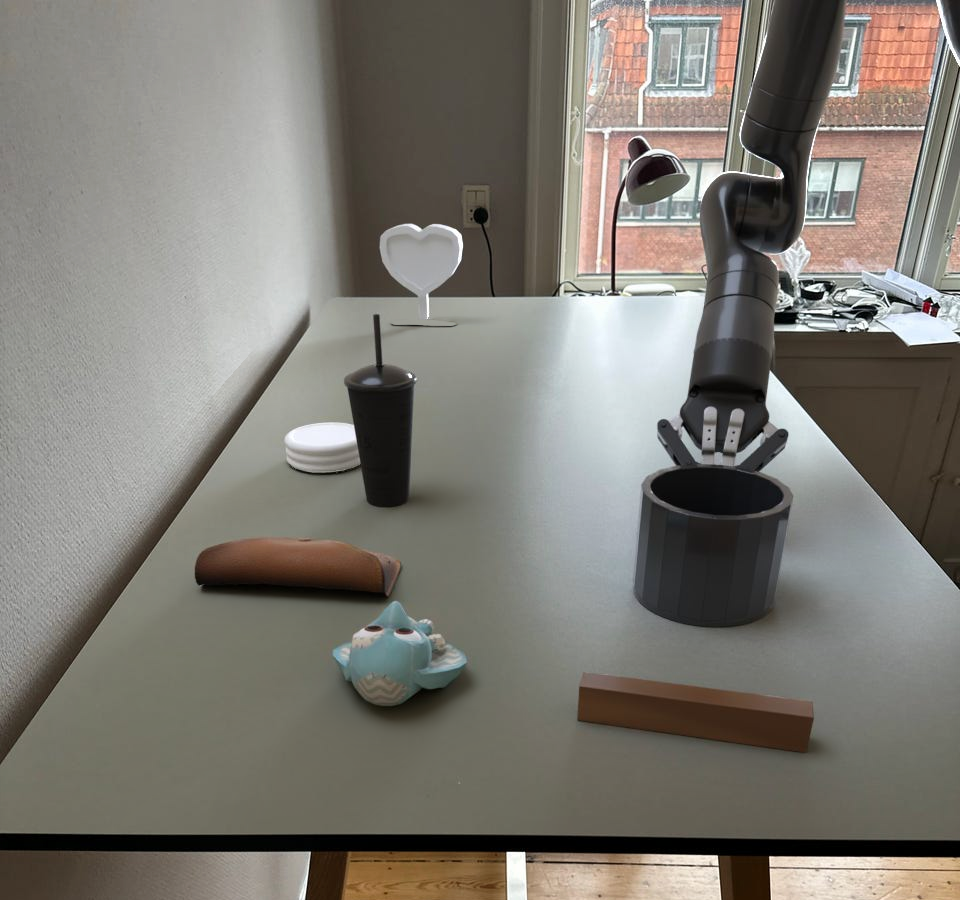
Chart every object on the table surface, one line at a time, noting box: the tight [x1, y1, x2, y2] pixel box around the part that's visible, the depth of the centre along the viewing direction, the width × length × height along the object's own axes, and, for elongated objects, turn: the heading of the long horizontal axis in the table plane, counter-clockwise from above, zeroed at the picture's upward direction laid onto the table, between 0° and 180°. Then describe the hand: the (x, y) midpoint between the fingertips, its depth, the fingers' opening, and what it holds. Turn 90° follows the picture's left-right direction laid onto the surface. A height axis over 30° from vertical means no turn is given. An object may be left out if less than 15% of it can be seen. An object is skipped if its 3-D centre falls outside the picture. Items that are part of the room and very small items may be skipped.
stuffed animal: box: [332, 600, 468, 707], centre depth 71 cm, size 11×7×12 cm
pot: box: [632, 463, 795, 628], centre depth 81 cm, size 13×13×10 cm
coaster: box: [284, 421, 361, 471], centre depth 114 cm, size 10×10×4 cm
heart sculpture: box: [379, 223, 464, 319], centre depth 178 cm, size 16×5×18 cm, turn 81°
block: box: [576, 671, 815, 754], centre depth 65 cm, size 2×16×3 cm, turn 76°
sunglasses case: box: [194, 536, 402, 597], centre depth 86 cm, size 18×7×7 cm
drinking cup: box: [343, 313, 417, 508], centre depth 99 cm, size 8×8×20 cm
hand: (709, 518), depth 87 cm, fingers closed
